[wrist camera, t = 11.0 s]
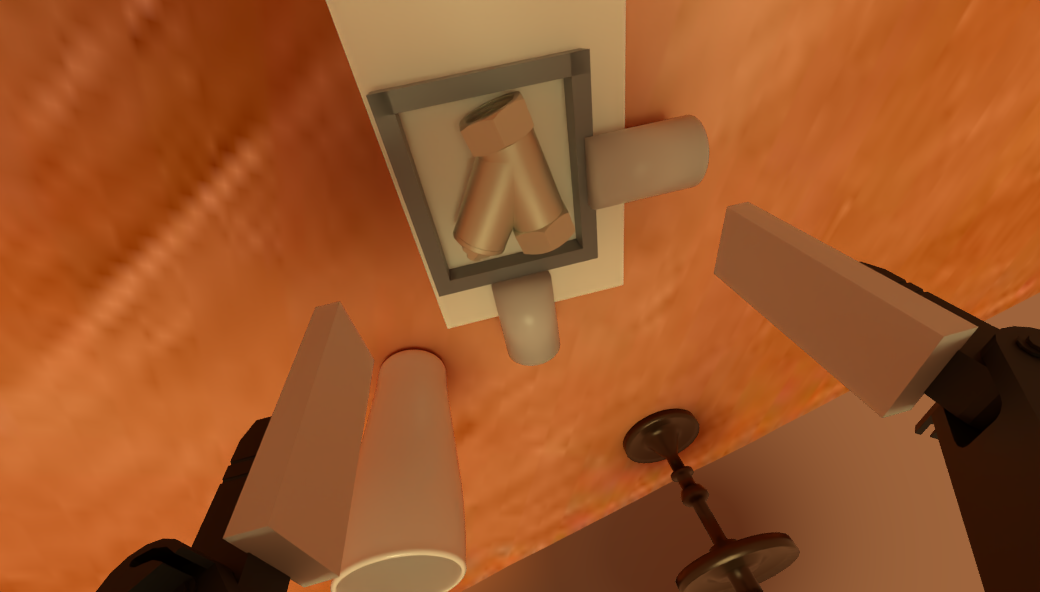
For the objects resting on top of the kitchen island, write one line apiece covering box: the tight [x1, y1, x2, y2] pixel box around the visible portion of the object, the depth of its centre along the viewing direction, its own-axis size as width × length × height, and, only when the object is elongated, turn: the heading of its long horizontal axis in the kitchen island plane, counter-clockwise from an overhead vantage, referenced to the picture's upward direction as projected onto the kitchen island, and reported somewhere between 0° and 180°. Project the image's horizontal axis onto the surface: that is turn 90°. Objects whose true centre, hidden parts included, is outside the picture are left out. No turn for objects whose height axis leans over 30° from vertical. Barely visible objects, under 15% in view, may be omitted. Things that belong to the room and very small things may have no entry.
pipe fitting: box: [453, 91, 576, 261], centre depth 21 cm, size 8×4×7 cm
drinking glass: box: [330, 349, 466, 592], centre depth 25 cm, size 7×7×15 cm
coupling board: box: [326, 0, 709, 366], centre depth 22 cm, size 22×17×5 cm
